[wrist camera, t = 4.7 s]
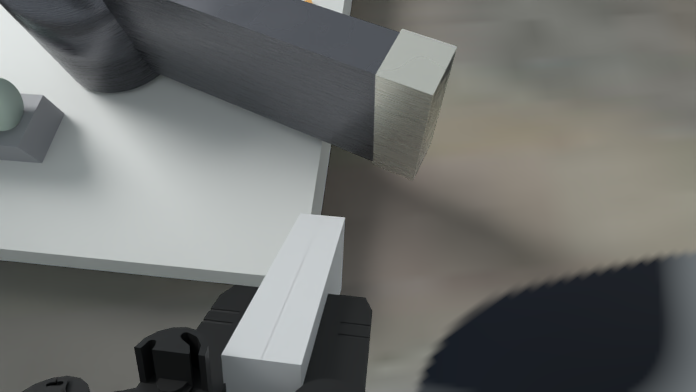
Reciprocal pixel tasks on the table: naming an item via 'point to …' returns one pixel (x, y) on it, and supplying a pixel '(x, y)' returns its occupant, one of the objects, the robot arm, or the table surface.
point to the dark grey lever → (261, 64)
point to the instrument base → (145, 173)
